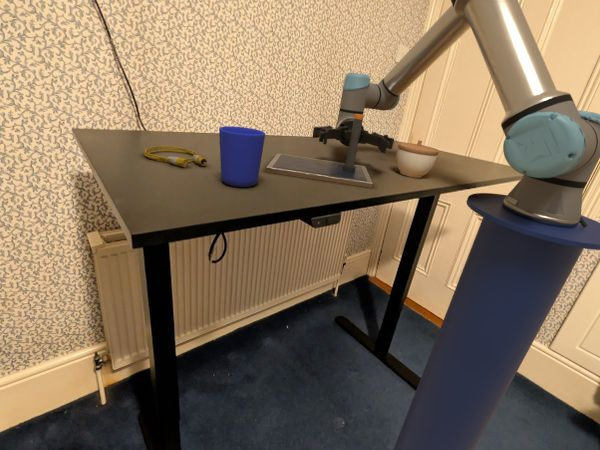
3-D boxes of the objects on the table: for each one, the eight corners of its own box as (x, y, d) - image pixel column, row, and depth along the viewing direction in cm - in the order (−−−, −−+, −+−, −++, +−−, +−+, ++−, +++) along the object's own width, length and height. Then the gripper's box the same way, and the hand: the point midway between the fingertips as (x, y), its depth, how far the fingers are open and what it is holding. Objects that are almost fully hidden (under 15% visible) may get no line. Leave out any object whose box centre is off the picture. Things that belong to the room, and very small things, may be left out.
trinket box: (438, 179, 89) (449, 145, 86) (414, 181, 83) (425, 144, 80) (407, 168, 97) (415, 137, 93) (383, 170, 91) (391, 136, 87)
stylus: (357, 172, 79) (369, 116, 74) (346, 172, 77) (357, 114, 72) (350, 168, 81) (361, 114, 76) (339, 168, 80) (349, 112, 75)
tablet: (364, 170, 88) (365, 166, 87) (371, 188, 72) (373, 182, 71) (277, 157, 88) (277, 152, 88) (265, 172, 73) (266, 166, 72)
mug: (243, 171, 70) (246, 124, 67) (267, 189, 61) (273, 135, 57) (206, 172, 66) (206, 121, 62) (226, 191, 57) (228, 133, 53)
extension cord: (144, 167, 64) (143, 157, 63) (144, 149, 77) (143, 141, 76) (207, 168, 69) (208, 159, 68) (197, 152, 82) (198, 144, 81)
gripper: (389, 150, 94) (405, 166, 75) (305, 138, 95) (299, 151, 76) (396, 124, 91) (414, 133, 72) (309, 111, 92) (303, 117, 73)
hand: (355, 142), depth 74 cm, fingers open, 13 cm apart
